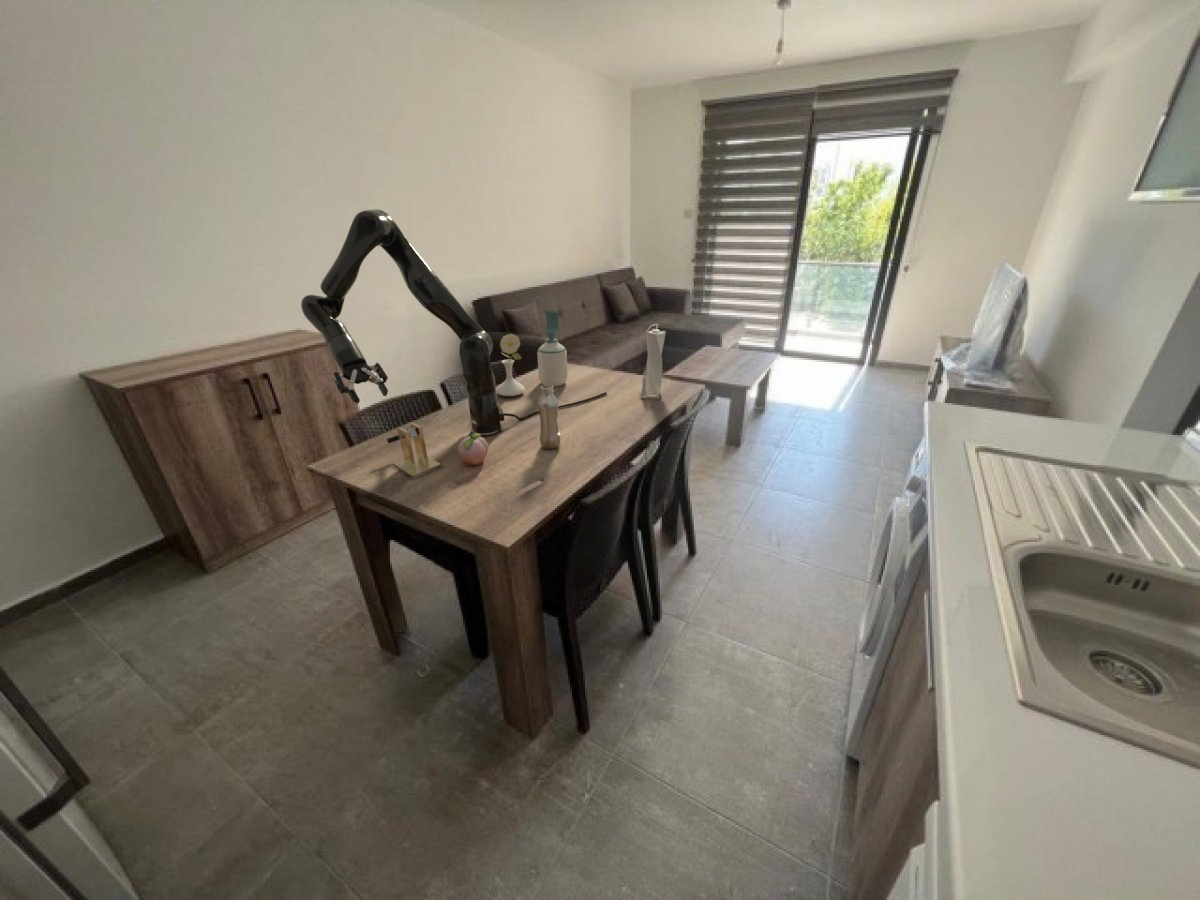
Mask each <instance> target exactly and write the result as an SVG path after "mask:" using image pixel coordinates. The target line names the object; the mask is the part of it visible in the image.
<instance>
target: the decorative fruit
mask: <svg viewBox="0 0 1200 900" xmlns="http://www.w3.org/2000/svg"><path fill="white" fill-rule="evenodd" d="M480 435H481V434H478V433H475V434H473V433H471V434H470V436H466V437H464V438H463V439H462V440H461V441H460V442H459V444H458V446H457V454H458V457H459V459H460V460H462V462H463V463H465V464H467V465H469V466H478V465H480V464H481V463H483V461H484V460H485V459H486V457H487V454H488V451H489V443H488V441H487V440H486V439H485V438H484V437H483V436H480Z"/></svg>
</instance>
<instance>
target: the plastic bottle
mask: <svg viewBox="0 0 1200 900" xmlns="http://www.w3.org/2000/svg"><path fill="white" fill-rule="evenodd" d="M554 391H555V390H554V387H553V386H552V385H544V384H542V385H541V386H540V393H541V395H540V396H539V398H538V400H537V404H536V405H537V411H539V413H538V414H539V419H540V434H539V442H540V445H541V446H542V447H543V448H544V449H547V450H548V449H550V450H551V449H555V448H557V447H559V445H560V444H561V434H560V429H559V423H558V422H559V420H558V419H559V417H558V414H559V408H558V406H559V400H558V398H557V397H556V395H555V394H554Z"/></svg>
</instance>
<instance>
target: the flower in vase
mask: <svg viewBox="0 0 1200 900" xmlns="http://www.w3.org/2000/svg"><path fill="white" fill-rule="evenodd" d="M520 340H521V339H520V337H519V336H517V335H515V334H513V333H510V334H509V333H508V334H506V335H503V336H502V338H501V339H500V342H499V343H500V344H499V346H500V349H501V352H500V353H501V354H502V355H503V356H504V357H507V359H503V360H501V363H502V364H503V366H504V369H505V375H506V378H505V380H504V381H503V382H502V383H501V384H499V386H498V387H497V388H496V394H498V395H499V396H503V397H516V396H520V395H522V394H523V393H524V392H525V390H526V388H525V387H524V385H523V384H522V383H519V381H517V380H515V379H514V377H513V365H514V363H515V360H517V361H518V360H522V359H523V357H522V356H521V354H519V353H518V349H519V348H520V346H521V342H520ZM509 355H511V356H509ZM508 358H509V359H508Z"/></svg>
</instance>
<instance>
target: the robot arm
mask: <svg viewBox="0 0 1200 900" xmlns="http://www.w3.org/2000/svg"><path fill="white" fill-rule="evenodd" d="M376 247H381V248H382V250H384V252H386V253H387V254H388V256H389V257H390V258H391V259H392V260H393V261H394V263H395V264H396V266H397V268H398V270H399V272H400V273H401V276H402V279H403V281H404V283H405V285H406V287H407V289H408V290H409V292H410V293H411V294H412V296H413V297H414V298H415V299H416V300H417V301H418V303H419V304H420V306H422V307H423V308H424V309H425V310H426V311H427V312H428V313H430V314H431V315H432V316H434V317H435V318H437V319H438V320H439V321H441V322H442V323H444V324H445V325H446V326H448V328H450V329H451V330H452V332H453V333H454V334H455V335H456V337H458V339H459V340H460V342H459V346H458V351H459V352H458V353H459V360H460V365H461V371H462V376H463V378H464V380H465V386H466V393H467V401H468V407H469V408H468V409H469V415H470V418H469V423H471V424H470V425H471V432H472V434H475V433H478V434H481V435H480V437H487V436H492V435H496V434H498V433H501V432H502V425H501V422H505V417H514V418H516V420H519V421H522V420H526V419H528V418H530V417H532V416H534V415H536V414H539V410H536V411H533V412H531V413H529V414H527V415H525V416H523V417H519V416H518V415H517V414H515V413H507V412H506V413H505V412H504V411H503V408H501V407H499V403H498V396H497V388H496V377H495V372H494V371H493V370H492V363H491V354H492V352H493V349H494V343H493V340H492V338H491V336H490V335H489V334H488V332H487V331H485V330H484V329H483V328H482V327H481V325H479V324H478V323H477V322H476V321H475V320H474V319H473V317H471V316H470V315H469V313H468V312H467V311H466V310H465V309H464V307H463V306H462V305H461V303H460V302H459V301H458V299H457V298H456V297H455V296H454V294H452V292H451V291H450V289H449V288H448V287H447V286H446V284H445V283H444V282H443V281H442V280H441V278H440V277H439V275H437V274H436V272H435V271H434V270H433V269H432V268H431V266H430V265H429V264H428V263H427V262H426V261H425V260H424V259H423V257H422V256H421V255H420V254H419V253H418V251H417V250H416V249H415V248H414V247H413V245H412V244H411V243H410V241H409V240H408V238H407V237H406V236H405V234H404V233H403V232H402V230H401V228H400V227H399V226H398V224H397V223H396V221H395V220H394V218H393V217H392V216H391V215H390V214H389V213H387V212H386V211H384V210H381V209H377V208H375V209H374V208H373V209H364V210H361V211H359V212H358V213H356V214H355V216H354V217H353V220H352V222H351V224H350V228H349V230H348V232H347V235H346V238H345V240H344V242H343V245H342V247H341V249H340V251H339V253H338V255H337V257H336V258H335V260H334V262H333V264H332V265H331V267H329V269H328V271H327V273H326V274H325V275H324V277H323V279H322V280H321V283H320V285H319V286H320V290H321V292H322V293H323V294H324V295H325V296H322V295H317V294H308V295H307V294H306V295H305V296H304V297H303V298H302V299H301V302H300V308H301V311H302V313H303V315H304V317H305V318H306V320H308V322H309V323H310V324H311V325H312V326H313V327H314V328H315V329H316V330H317V331H318V332H319V333H320V334H321V336H322V337H323V339H324V340H325V343H326V344H327V346H328V348H329V351H330V353H331V355H332V357H333V358H334V360H335V362H336V364H337V366H338V367H339V369H340V371H341V372H338V371H334V373H333V375H332V379H333V382H334V384H335V386H336V387H337V390H338V392H339V393H340V394H347V395H348V397H350V399H351V401H352V402H353V403H355V404H356V405H357V404H359V403H360V401H361V400H360V397H359V396H358V394H357V392H356V391H355V389H353V388H354V385H355V384H356V385H359V384H362V383H367V382H369V383H372V384H375V385H376V386H378V387H377V388H378V390H379V391H380V392H381V395H382V397H387V396H388V392H389V389H388V388H387V386H386V384H385V383H387V380H388V378H389V376H388V375H387V374H386V372H385V371H384V369H383V367H382V366H381V364H380V363H379V362H376V363H375V364H373V365H370V364H368V362H367V360H366V358H365V356H364V355H363V353H362V351H361V349H360V347H359V346H358V344H357V342H356V341H355V339H353V337H352V335H351V334H350V332H349V330H348V328H347V327H346V325H345V324H344V322H342V321H341V320H338V319H337V318H339V317H340V315H341V314H342V311H343V308H344V303H345V298H346V296H347V295H348V293H349V292H350V291H351V289H352V287H353V286H354V283H355V282H356V280H357V278H358V276H359V272H360V269H361V266H362V264H363V262H364V260H365V259H366V258H367V256H368V255H369V254H370V253H371V252H372V251H373V250H374V249H375V248H376ZM343 378H344V379H345V380H348V385H347V386H345V384H344V382H343ZM607 394H608V393H607V392H606V391H605V392H603V393H600V394H597V395H595V396H591V397H589V398H586V399H582V400H578V401H575V402H571V403H566V404H561V405H558V409H562V408H567V407H570V406H574V405H578V404H583V403H586V402H590V401H591V400H594V399H597V398H600V397H602V396H605V395H607Z"/></svg>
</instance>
